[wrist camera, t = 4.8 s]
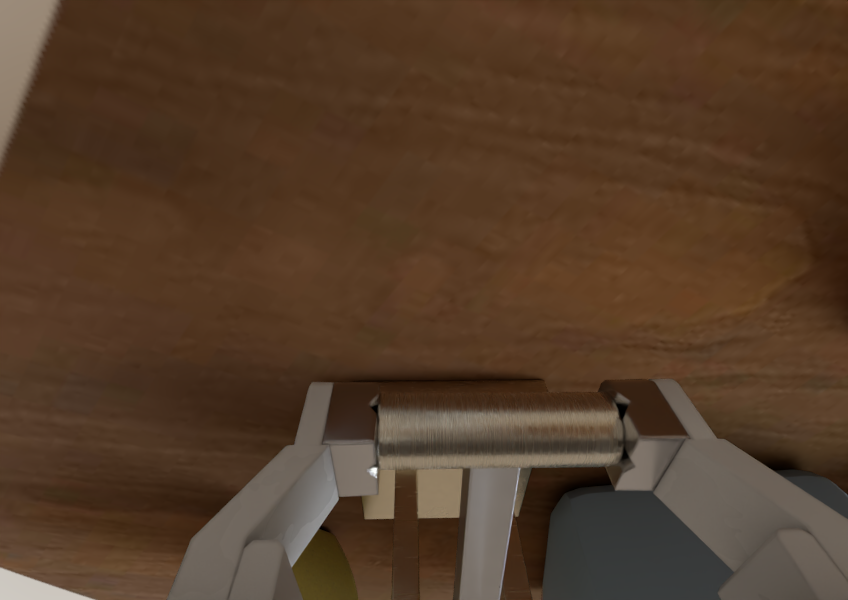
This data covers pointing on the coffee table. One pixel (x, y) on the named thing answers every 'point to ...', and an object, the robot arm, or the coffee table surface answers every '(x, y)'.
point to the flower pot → (324, 570)
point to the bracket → (441, 497)
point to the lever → (494, 458)
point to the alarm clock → (641, 545)
